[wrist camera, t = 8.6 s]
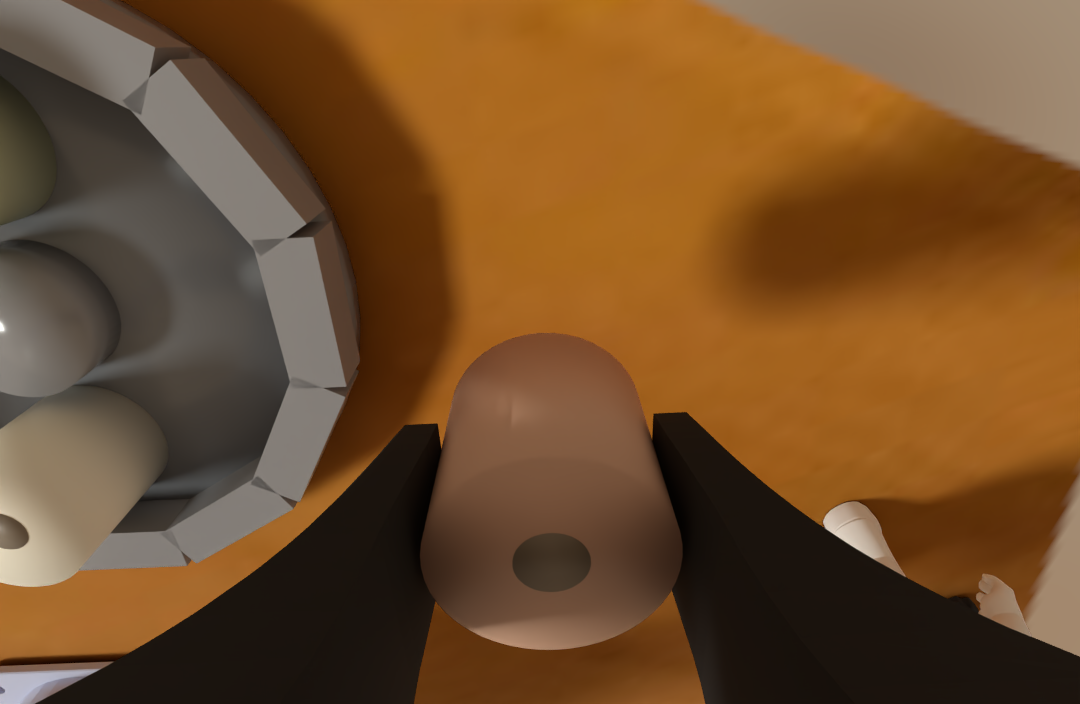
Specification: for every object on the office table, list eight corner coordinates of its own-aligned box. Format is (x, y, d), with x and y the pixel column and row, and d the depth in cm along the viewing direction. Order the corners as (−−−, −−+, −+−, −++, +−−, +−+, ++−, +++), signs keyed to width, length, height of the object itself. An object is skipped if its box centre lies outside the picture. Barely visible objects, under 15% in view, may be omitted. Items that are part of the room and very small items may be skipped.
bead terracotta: (637, 488, 14) (675, 646, 10) (461, 496, 14) (436, 656, 10) (643, 328, 12) (692, 451, 8) (440, 337, 12) (401, 463, 8)
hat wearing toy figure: (923, 449, 21) (1337, 877, 10) (954, 521, 22) (1341, 960, 12) (689, 555, 23) (825, 1000, 12) (732, 614, 24) (886, 1056, 14)
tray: (399, 504, 22) (384, 557, 19) (-69, 524, 22) (-136, 579, 20) (288, -65, 14) (241, -85, 12) (-437, -28, 14) (-619, -41, 12)
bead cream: (186, 484, 20) (111, 581, 16) (68, 493, 20) (-33, 592, 16) (139, 380, 18) (42, 463, 14) (10, 391, 18) (-119, 476, 15)
